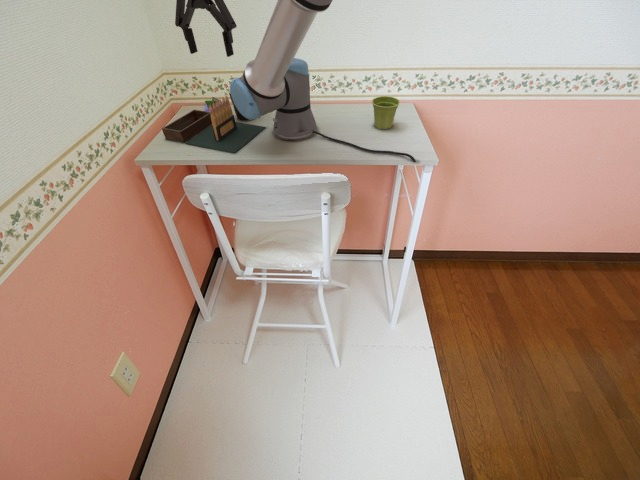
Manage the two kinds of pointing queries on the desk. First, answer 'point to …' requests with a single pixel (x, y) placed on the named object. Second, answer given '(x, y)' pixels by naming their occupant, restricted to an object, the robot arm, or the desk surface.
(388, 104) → the plant pot
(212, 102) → the geometric puzzle
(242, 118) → the coffee mug
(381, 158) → the desk surface
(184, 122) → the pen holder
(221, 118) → the ammunition clip
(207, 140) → the desk mat
